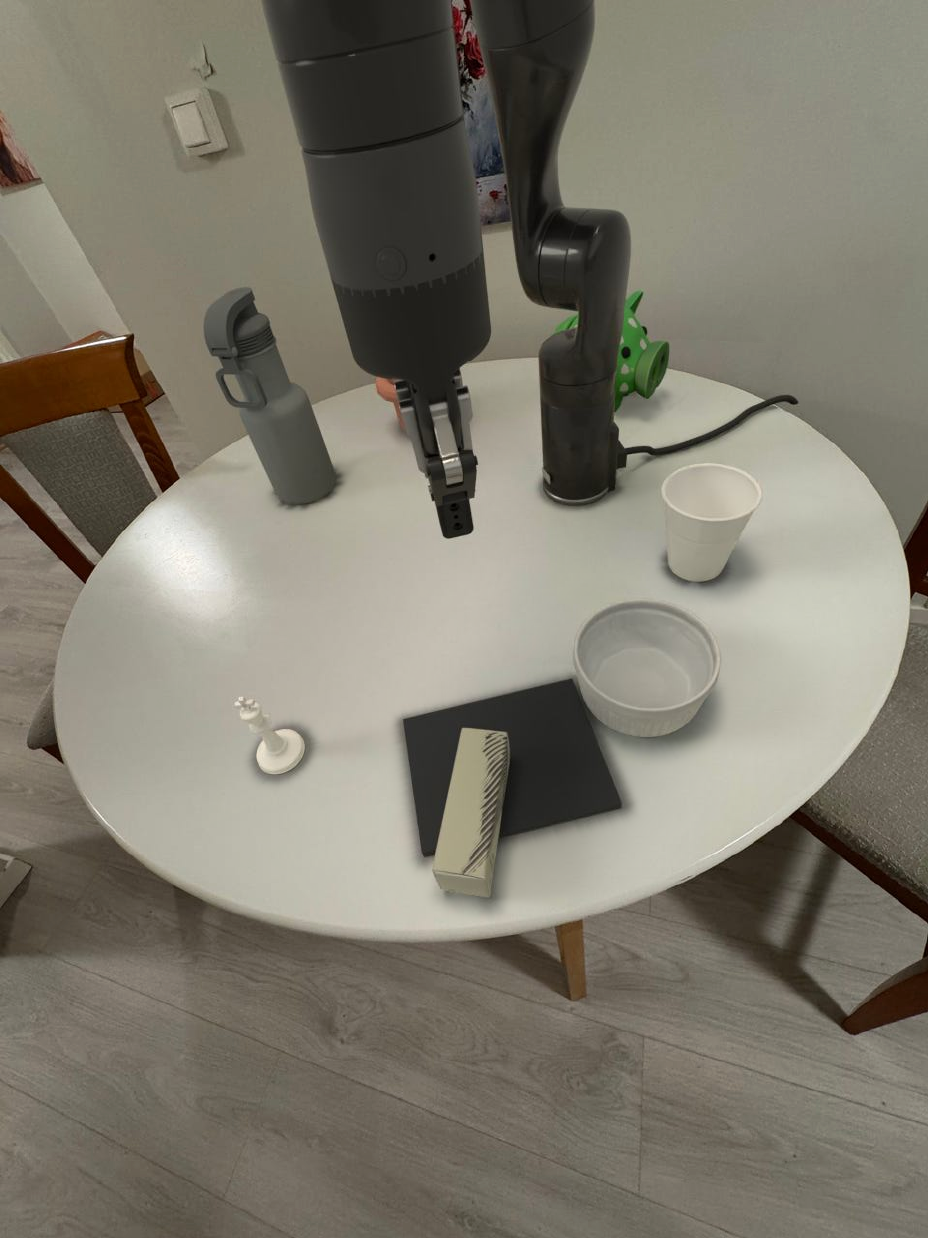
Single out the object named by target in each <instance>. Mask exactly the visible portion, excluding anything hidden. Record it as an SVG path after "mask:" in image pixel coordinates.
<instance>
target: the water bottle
mask: <svg viewBox="0 0 928 1238" xmlns="http://www.w3.org/2000/svg"><path fill="white" fill-rule="evenodd" d="M255 300H256V297H255V295H254V291H253V290H252V288H251V287H250V286H242V287H236V288H234V289H231V290H229V291H226V292H225V293H224V294H223V295H222V296H220V297H219V298H218V299H216V300H215V301H214V302H212V303H211V304H210V305H209V307H208V308H207V309H206V312H205V314H204V318H203V337H204V341H205V345H206V347H207V350H208V351H209V354H210V355H211V356H212V357H217V358H218V359H219V361H220V364H221V366H222V367H221V368H219V369H218V370H217V371H216V372H215V379H216V381H217V383H218V385H219V387H220V390H221V391H222V394H223V396H224V398H225V400H226V401H227V403H228V404H229V405H230V406H232V407H234V408H238V413H239V418H240V420H241V422H242V424H243V426H244V428H245V430H246V433H247V435H248V437H249V439H250V441H251V443H252V446H253V448H254V450H255V453H256V454H257V456H258V459H259V461H260V463H261V465H262V467H263V469H264V471H265V474H266V476H267V478H268V480H269V482H270V484H271V487H272V489H273V491H274V493H275V495H276V496H277V498H278V499H279V500H281V501H282V502H284V503H287V504H291V505H304V504H305V505H306V504H309V503H312V502H315V501H317V500H319V499H322V498H323V497H325V496H326V495H328V494H329V493H330V492H331V491H332V489H333V488H334V487H335V485H336V481H337V473H336V471H335V467H334V465H333V463H332V459H331V456H330V454H329V451H328V449H327V445H326V442H325V439H324V437H323V435H322V432H321V429H320V426H319V423H318V420H317V417H316V415H315V412H314V409H313V407H312V404H311V401H310V398H309V395H308V394H307V391H306V390H305V389H304V387H302V386H301V385H300V384H298V383H296V382H293V381H291V380H290V378H289V375H288V373H287V369H286V367H285V364H284V361H283V359H282V357H281V353H280V351H279V348H278V346H277V342H278V341H277V337H276V336H275V335H274V333H273V330H272V327H271V322H270V319H269V317H268V316H267V315H266V314H265V313H261V312H259V311H258V309H257V307H256V304H255ZM225 375H234V377H235V380H236V381H237V384H238V386H239V389H240V391H241V392H242V395H243V397H242V398H241V400H240V401H239V400H238V399H236V398H235V397H234V396H233V395H232V393H231V391H230V389H229V387H228V384H227V382H226V380H225V377H224V376H225Z"/></svg>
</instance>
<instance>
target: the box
mask: <svg viewBox="0 0 928 1238" xmlns="http://www.w3.org/2000/svg"><path fill="white" fill-rule="evenodd" d="M509 763H510V747H509V739H508V734H507V732H500V731H491V730H482V729H473V728H462V730H461V734H460V739H459V744H458V749H457V754H456V758H455V763H454V768H453V773H452V777H451V782H450V787H449V791H448V796H447V801H446V805H445V810H444V815H443V820H442V824H441V829H440V834H439V838H438V843H437V848H436V853H435V854H434V857H433V862H432V869H431V872H432V874H433V877H434V879H435V881H436V883H437V885H438V887H439V889H440V890H442V891H445V892H451V893H457V894H463V895H470V896H476V897H481V898H490V897H491V895H492V894H491V893H492V884H493V879H494V869H495V863H496V859H497V858H496V857H497V851H498V844H499V838H498V837H499V830H500V823H501V816H502V810H503V803H504V796H505V789H506V783H507V776H508V769H509Z"/></svg>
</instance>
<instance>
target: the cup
mask: <svg viewBox="0 0 928 1238" xmlns="http://www.w3.org/2000/svg"><path fill="white" fill-rule="evenodd" d="M661 496H662V498H663V501H664V502H663V503H664V518H665V534H666V535H665V536H666V548H667V549H666V550H667V552H666V553H667V564H668V567H669V570H671V572H672V574H675V575H676V576H677V577H679V578H680V579H683V580H686V581H690V582H697V583H698V582H700V583H701V582H706V581H710V580H713V579H715V578H717V577H718V576H719V575H720V574H721V573H722V572H723V570H724V568H725V566H726V564H727V562H728V560H729V558H730V556H731V554H732V553H733V551H734V549H735V546H736V545H737V543H738V541H739V540H740V538H741V536H742V533H743V531H744V530H745V528H746V526H747V524H748V523H749V521H750V519H751V517H752V515H753V513H754V512H755V511H756V509H758V508H759V506H760V505H761V503H762V500H763V490H762V487H761V485H760V484H759V482H758V480H757V479H755V478H754V476H753V475H751V474H750V473H748V472H746V471H744V470H743V469H740V468H738V467H735V466H732V465H728V464H721V463H715V462H713V463H712V462H707V463H706V462H703V463H701V462H700V463H694V464H690V465H686V466H682V467H680V468H678V469H676V470H675V471H673V472H671V473H670V474H669V475H668V476H667V477H666V478H665V479H664V481H663V483H662V485H661Z"/></svg>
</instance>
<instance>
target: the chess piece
mask: <svg viewBox="0 0 928 1238" xmlns="http://www.w3.org/2000/svg"><path fill="white" fill-rule="evenodd" d="M234 707H235V709H240V710H239V718H240V719H241V720H242V721H244V722H247V723H249V725H248V728H249V732H250V733H251V734H253V735H260V737H261V738H262V741H261V742H260V743H259V745H258V748H257V750H256V761H257V764H258V765H259V768H260V770H262V772H265V773H266V774H269V775H281V774H285V773H288V772H289V771H291V770H292V769H293V768H295V767H296V766H297V765H298V764H299V763H300V762H301V760H302V758H303V757H304V755H305V750H306V749H305V748H306V745H305V744H306V743H305V740H304V738H303V737H302V736H301V735H300V733H298V732H297V731H295V730H293V729H288V728H281V729H278V730H273V728H271V725H272V718H271V717H270V716H269V715H267V714H265V713H263V712H262V711H263V710H262V706H261V704H260V703H259V702H257V701H255V700H254V699H247V698H245V696H239V697H238V701H234Z"/></svg>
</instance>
